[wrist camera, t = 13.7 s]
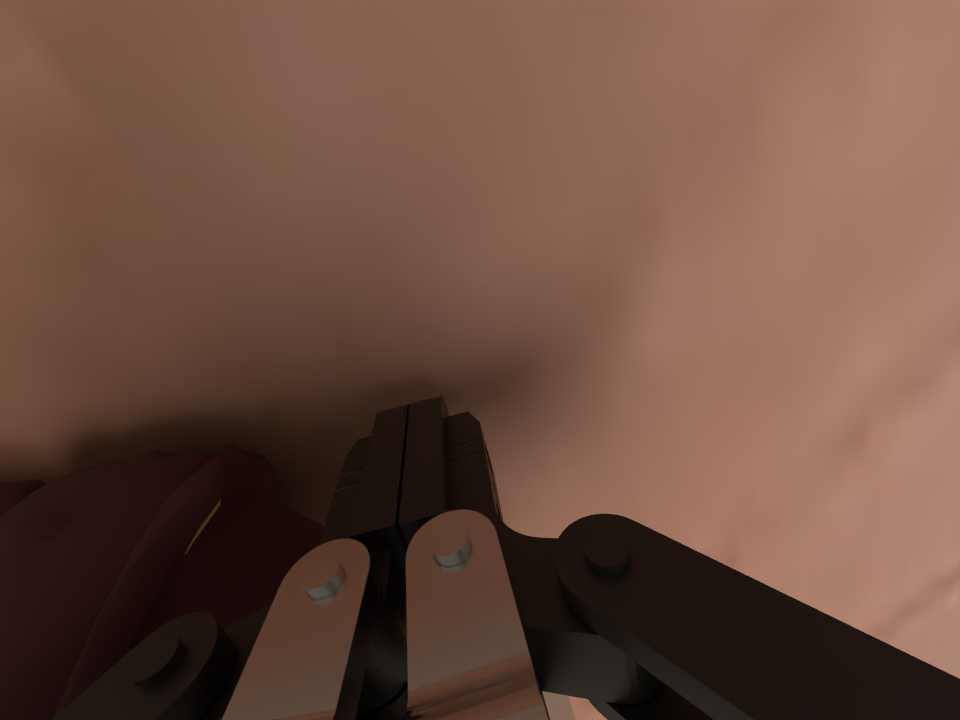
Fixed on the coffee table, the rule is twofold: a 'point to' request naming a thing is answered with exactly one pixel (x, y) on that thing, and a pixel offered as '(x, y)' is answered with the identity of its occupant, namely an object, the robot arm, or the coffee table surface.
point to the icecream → (132, 564)
